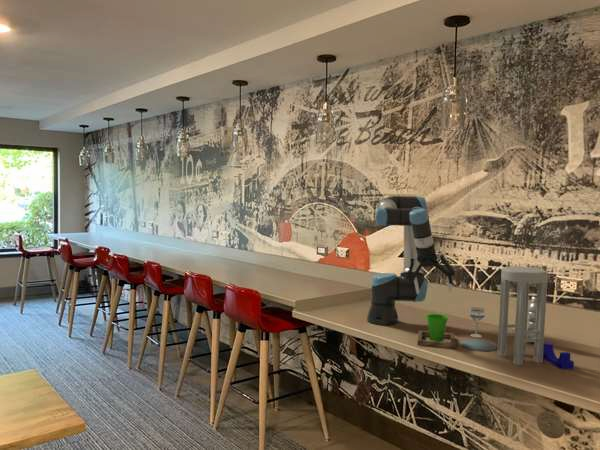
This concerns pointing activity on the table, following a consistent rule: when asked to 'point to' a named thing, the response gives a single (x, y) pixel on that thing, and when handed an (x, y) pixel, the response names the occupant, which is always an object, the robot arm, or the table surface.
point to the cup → (436, 326)
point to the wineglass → (476, 317)
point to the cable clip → (560, 362)
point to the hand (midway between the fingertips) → (433, 291)
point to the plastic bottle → (532, 316)
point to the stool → (522, 311)
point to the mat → (478, 345)
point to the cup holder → (436, 343)
